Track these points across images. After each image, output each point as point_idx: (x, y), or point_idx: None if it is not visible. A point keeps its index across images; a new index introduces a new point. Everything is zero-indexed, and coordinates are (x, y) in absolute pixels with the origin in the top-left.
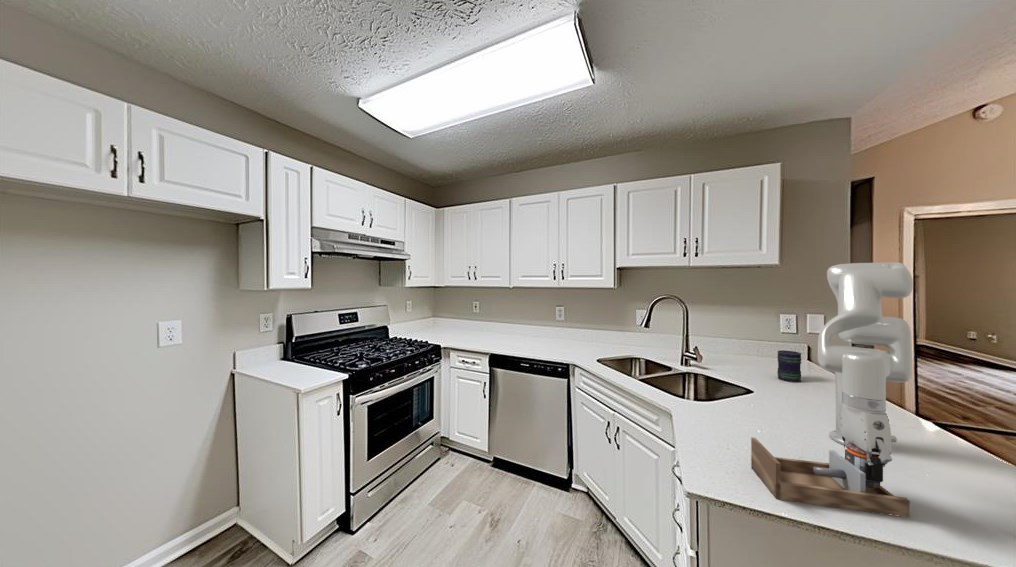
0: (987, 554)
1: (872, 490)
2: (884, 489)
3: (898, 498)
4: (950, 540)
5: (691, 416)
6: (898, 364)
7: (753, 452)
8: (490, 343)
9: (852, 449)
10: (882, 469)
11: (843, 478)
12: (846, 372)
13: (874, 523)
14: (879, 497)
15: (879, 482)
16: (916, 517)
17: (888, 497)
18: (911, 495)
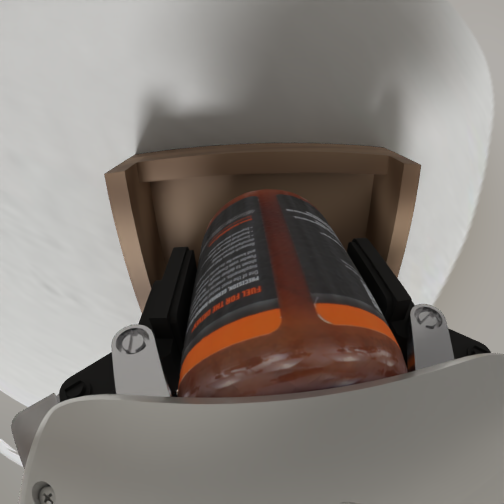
0: (485, 87)
1: (242, 178)
2: (277, 157)
3: (409, 200)
4: (459, 124)
5: (15, 394)
6: None
7: None
8: (14, 456)
9: None
10: (398, 283)
11: None
12: None
13: (410, 272)
14: (398, 263)
15: (326, 220)
16: (375, 118)
17: (406, 237)
18: (195, 15)
